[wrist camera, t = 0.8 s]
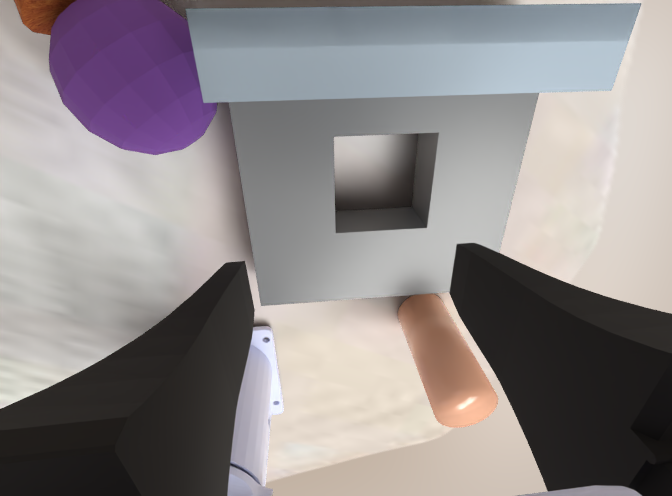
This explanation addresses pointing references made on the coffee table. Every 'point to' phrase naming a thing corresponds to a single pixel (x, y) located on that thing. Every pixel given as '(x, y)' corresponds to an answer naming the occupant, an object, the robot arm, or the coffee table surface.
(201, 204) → the coffee table surface
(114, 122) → the kendama
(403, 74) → the socket
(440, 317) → the peg
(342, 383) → the coffee table surface
